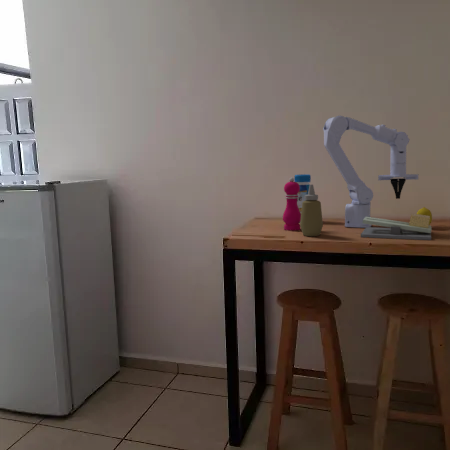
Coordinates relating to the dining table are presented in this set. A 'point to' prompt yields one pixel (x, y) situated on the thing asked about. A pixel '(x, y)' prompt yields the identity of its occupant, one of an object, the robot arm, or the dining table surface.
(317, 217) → the squeeze bottle
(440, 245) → the dining table surface
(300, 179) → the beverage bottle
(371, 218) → the beam
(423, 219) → the tan block
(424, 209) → the lemon
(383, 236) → the pivot stand
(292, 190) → the pepper mill
